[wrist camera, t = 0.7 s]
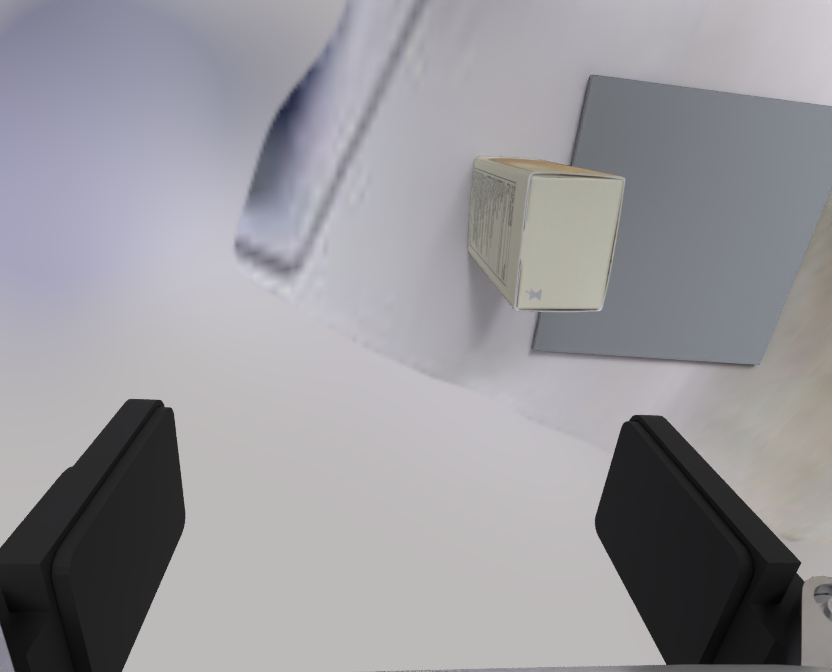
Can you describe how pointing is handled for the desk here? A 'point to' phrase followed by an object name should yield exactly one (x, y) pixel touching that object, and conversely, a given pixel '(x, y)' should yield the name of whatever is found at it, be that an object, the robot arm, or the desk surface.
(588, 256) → the skincare box
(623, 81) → the desk mat
